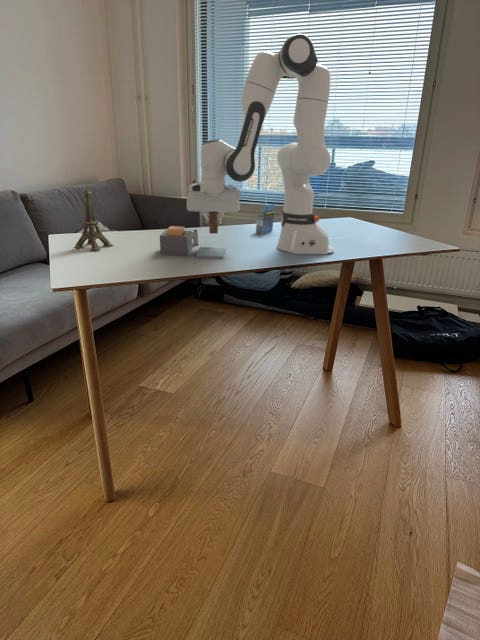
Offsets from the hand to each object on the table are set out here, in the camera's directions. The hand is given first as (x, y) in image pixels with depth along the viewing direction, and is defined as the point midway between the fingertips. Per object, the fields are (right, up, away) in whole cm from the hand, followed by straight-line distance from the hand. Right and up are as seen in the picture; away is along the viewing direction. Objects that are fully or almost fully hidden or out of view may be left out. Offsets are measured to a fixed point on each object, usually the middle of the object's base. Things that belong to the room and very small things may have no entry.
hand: (213, 223), depth 165 cm
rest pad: (0, -13, -6) cm, 14 cm away
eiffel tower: (-45, -10, -4) cm, 47 cm away
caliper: (-11, -4, +13) cm, 17 cm away
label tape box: (+22, +3, +31) cm, 38 cm away
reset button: (-13, -7, -8) cm, 17 cm away
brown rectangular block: (0, -3, +2) cm, 4 cm away
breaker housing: (-13, -12, -6) cm, 19 cm away
